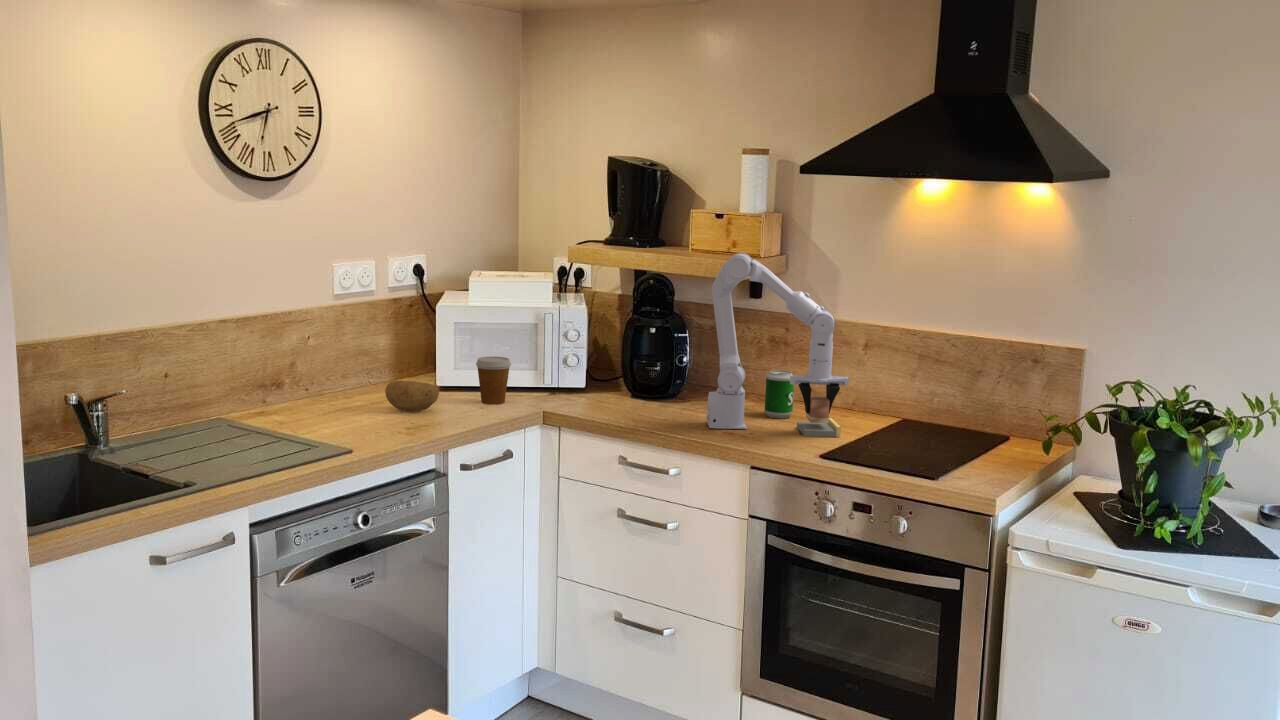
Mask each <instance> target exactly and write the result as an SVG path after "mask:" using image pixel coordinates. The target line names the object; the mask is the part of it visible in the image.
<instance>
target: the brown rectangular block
mask: <svg viewBox="0 0 1280 720" xmlns="http://www.w3.org/2000/svg"><path fill="white" fill-rule="evenodd" d="M829 404H830V401H829V400H828V399H827V398H826V395H811V397H810V413H806V412H805V418H806V419H807V420H808V422H811V423H829V418H830V417H829V415H830V414H829Z"/></svg>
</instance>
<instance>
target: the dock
mask: <svg viewBox="0 0 1280 720" xmlns="http://www.w3.org/2000/svg"><path fill="white" fill-rule="evenodd" d="M841 427H842V426H841V425H840V424H838V423H837V422H836V421H835V420H834V418H832V417H829V423H811V422H810V421H796V428H797V429H798V431H799V430H800V431H801V432H800V431H799V432H800V433H801V434H802V435H803V436H804V437H807V436H809V437H810V436H811V437H813V438H816V437H817V438H818V437H819V438H822V437H823V438H841V432H842V431H841V429H842V428H841Z"/></svg>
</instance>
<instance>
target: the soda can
mask: <svg viewBox="0 0 1280 720" xmlns="http://www.w3.org/2000/svg"><path fill="white" fill-rule="evenodd" d="M790 376H794V375H793V373H792V371H789V370H783V369H782V370H781V369H780V370H778V369H776V370H775V369H773V370H770V371H769V372H768V373H767V374H766V376H765V395H764V413H765V414H766V416H767V417H768V416H769V418H771V419H788V418H790V416H791V415H793V409H794V407H793V406H794V392H795V391H794V390H795V389H794V388H795V385H792V384H790Z"/></svg>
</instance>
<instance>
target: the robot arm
mask: <svg viewBox="0 0 1280 720" xmlns="http://www.w3.org/2000/svg"><path fill="white" fill-rule="evenodd" d="M720 267H721V268H720V270H719V271H718V274H717V276H716V278H715V279H714V281H713V284H712V285H711V294H712V303H713V311H714V312H713V313H714V318H715V319H714V320H715V327H716V336H717V345H718V351H719V352H718V354H719V374H718V377H717V385H718V387H717V388H716V390H715V391H709V392H708V396H707V410H706V411H707V412H706V424H707V425H708V427H709V428H710V429H721V430H722V429H726V430H727V429H731V430H732V429H733V430H734V429H735V430H747V429H748V427H747V425H746V423H745V422H744V420H745V403H746V401H745V399H746V390H745V389H744V387H743V383H744V382H745V380H746V371H745V369H744V368H743V366H742V364H741V358H740V355H739V350H738V342H737V333H736V326H735V325H736V323H735V317H734V316H735V315H734V307H733V299H732V291H733V290H734V289H735V288H736V286H737V285H738V284H739V283H740V282H743V281H744V280H745V279H747V277H749V279H748V280H749V281H750V282H756V283H761V284H763V285H764V286H765V287H766V288H768V289H769V290H770V291H771V292H773V293H774V294H775V295H777V296H778V297H779V298H781V300H783V301H785V307H786V310H788V311H789V312H790V313H791V314H793V316H795V317H796V318H797V319H798V320H800V321H801V322H802V323H803V324H804V325H807V326H810V330H811V340H810V341H809V353H808V354H809V355H808V359H809V360H808V371H807V372H808V373H807V374H803V375H801V374H800V375H799V374H798V375H793V376H790V384H792V385H794V386H795V385H798V388H799V390H800V393H801V395H802V399H803V403H804V408H805V409H804V410H805V414H806V413H810V397H811V396H812V390H813V389H812V388H811V385H820V386H821V385H824V386H825V391H826V392H825V397H826V398H827V399H828V400H829V401H830V404H829V415H830V414H831V409H832V406H833V403H834V401H835V398H836V397H837V395H838V393H839V392H840V389H841V386H848V387H849V384H850V383H849V382H850V381H849V380H850V379H849V377H848V376H840V375H839V376H838V375H832V371H833V370H832V367H833V351H834V350H833V349H834V342H833V339H834V334H833V333H834V331H835V327H836V325H835V318H834V317H833V315H832V314H831V312H830V311H828V310H825V307H824V306H823V305H821V306H820V305H819V304H817V302H815V301H814V300H813V299H812V298H811V295H810V294H809V293H808V292H807V291H806V292H803V291H802V290H799V291H793V289H791V288H790V287H789V286H788V285H787V284H786V283H785V282H783V281H782V280H781V279H780V278H779V277H778V276H777V275H775V273H773V272H772V271H771V270H770V269H769V268H767V267H766V266H765V265H763V264H762V263H761V262H759V261H758V260H757V259H755V258H753V259H752V257H751V256H750V255H749V254H747V253H745V252H737V253H736V254H733V255H732V256H731V257H730V258H729V259H728V260H726V262H724V263H723V264H722V265H721V266H720Z"/></svg>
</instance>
